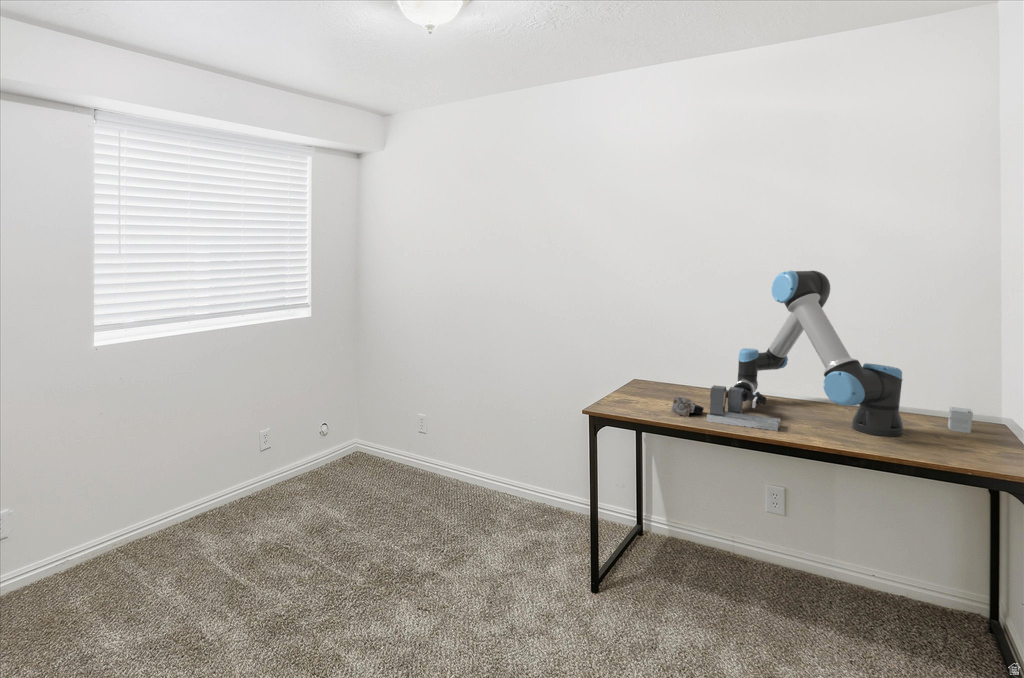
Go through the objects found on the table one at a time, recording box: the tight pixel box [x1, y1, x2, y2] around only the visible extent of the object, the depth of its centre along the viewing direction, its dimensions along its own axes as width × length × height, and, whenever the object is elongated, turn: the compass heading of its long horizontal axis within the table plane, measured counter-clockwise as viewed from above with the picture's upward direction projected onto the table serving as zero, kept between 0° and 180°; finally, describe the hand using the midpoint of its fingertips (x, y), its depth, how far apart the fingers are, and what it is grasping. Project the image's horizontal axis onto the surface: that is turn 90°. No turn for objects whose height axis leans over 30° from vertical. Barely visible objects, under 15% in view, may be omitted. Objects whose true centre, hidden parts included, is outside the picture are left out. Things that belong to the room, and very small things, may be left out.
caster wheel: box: [670, 395, 704, 417], centre depth 221 cm, size 7×11×10 cm
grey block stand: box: [706, 384, 781, 432], centre depth 207 cm, size 24×8×12 cm, turn 60°
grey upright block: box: [726, 386, 744, 414], centre depth 215 cm, size 5×4×11 cm
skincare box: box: [947, 406, 974, 434], centre depth 199 cm, size 6×6×7 cm
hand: (734, 402), depth 213 cm, fingers open, 13 cm apart
